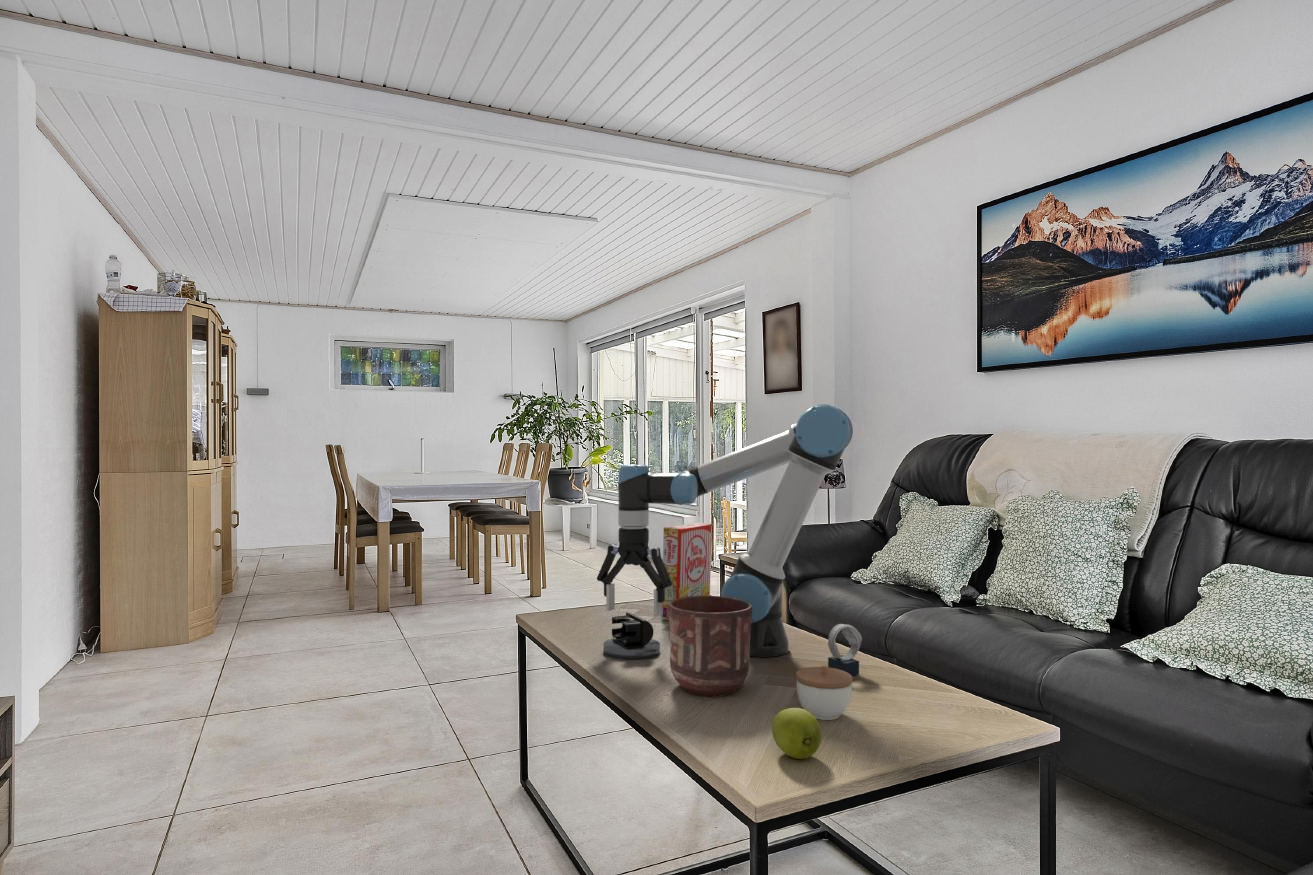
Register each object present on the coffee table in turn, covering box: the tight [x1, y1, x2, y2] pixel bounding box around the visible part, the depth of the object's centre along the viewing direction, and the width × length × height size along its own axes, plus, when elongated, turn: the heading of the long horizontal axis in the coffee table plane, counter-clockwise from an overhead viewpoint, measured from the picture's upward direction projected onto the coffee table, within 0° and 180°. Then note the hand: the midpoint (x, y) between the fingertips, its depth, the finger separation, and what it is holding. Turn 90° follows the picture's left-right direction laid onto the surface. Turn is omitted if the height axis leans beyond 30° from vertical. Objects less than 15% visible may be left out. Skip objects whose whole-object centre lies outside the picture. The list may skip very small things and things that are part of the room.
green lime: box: [771, 707, 823, 760], centre depth 130 cm, size 8×9×8 cm
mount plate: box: [602, 638, 661, 661], centre depth 192 cm, size 14×14×2 cm
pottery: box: [668, 595, 752, 697], centre depth 165 cm, size 18×18×18 cm
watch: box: [827, 623, 863, 677], centre depth 177 cm, size 6×8×11 cm
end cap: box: [611, 612, 654, 649], centre depth 192 cm, size 10×7×7 cm
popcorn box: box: [660, 522, 712, 621], centre depth 234 cm, size 20×6×27 cm, turn 149°
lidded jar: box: [795, 665, 853, 721], centre depth 150 cm, size 11×11×9 cm
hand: (633, 612), depth 192 cm, fingers open, 13 cm apart
